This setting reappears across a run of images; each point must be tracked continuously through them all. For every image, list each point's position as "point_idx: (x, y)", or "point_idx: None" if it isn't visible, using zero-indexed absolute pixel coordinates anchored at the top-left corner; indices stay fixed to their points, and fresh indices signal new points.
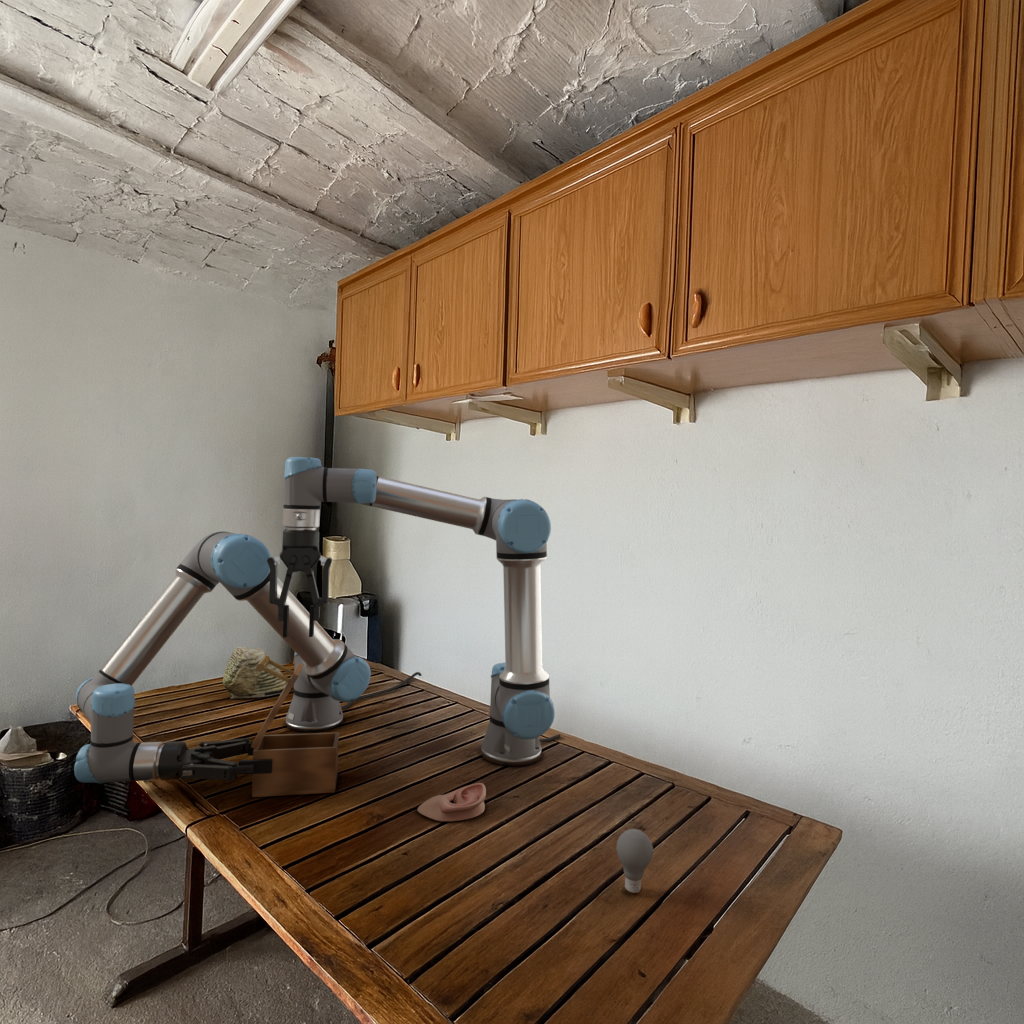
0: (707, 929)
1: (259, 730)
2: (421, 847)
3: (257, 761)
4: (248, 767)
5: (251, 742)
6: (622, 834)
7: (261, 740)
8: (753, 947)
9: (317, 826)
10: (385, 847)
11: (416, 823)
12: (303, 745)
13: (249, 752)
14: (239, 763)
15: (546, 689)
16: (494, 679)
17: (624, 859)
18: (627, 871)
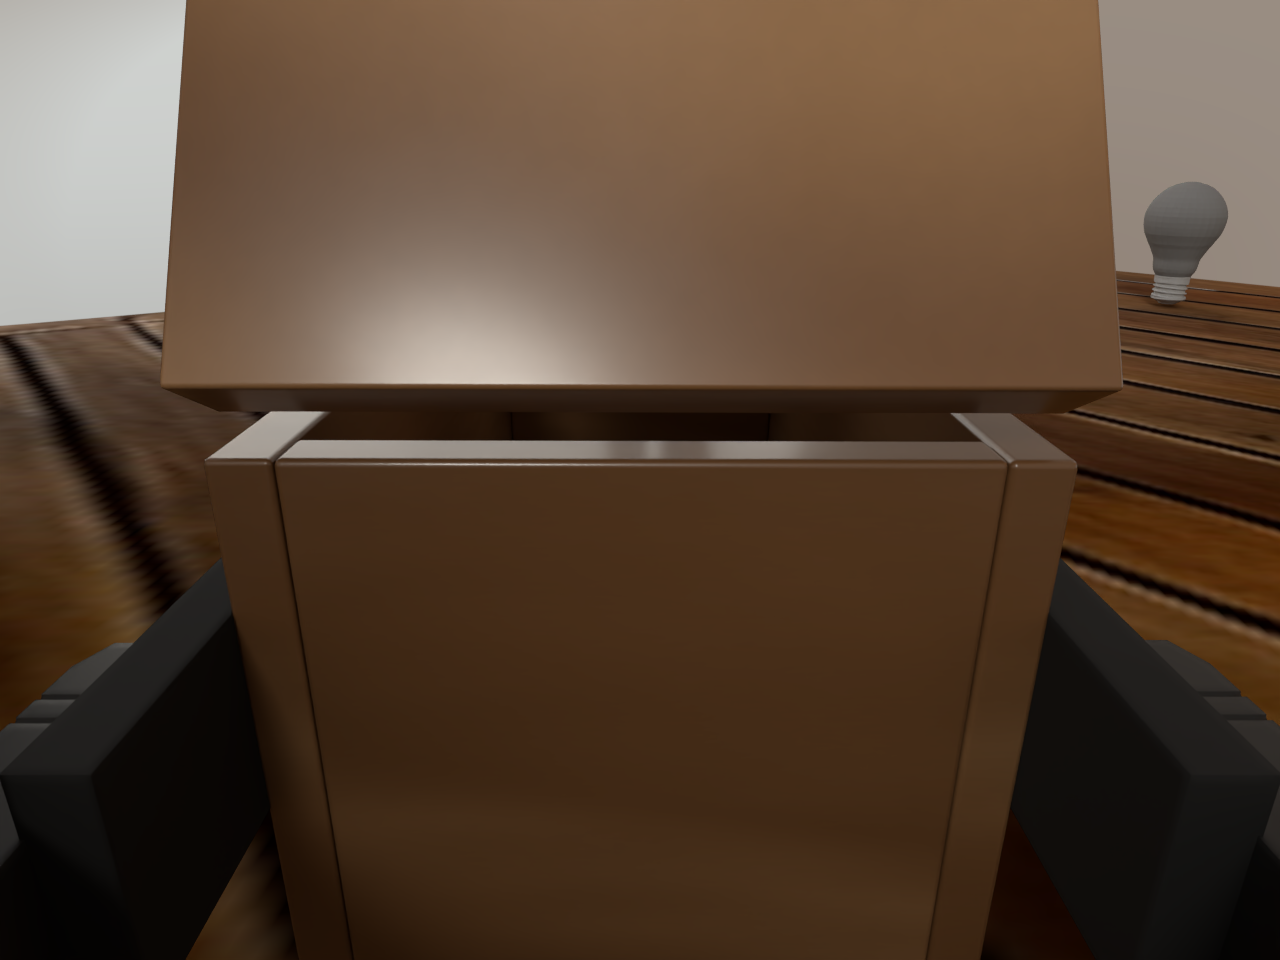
0: (1228, 292)
1: (383, 282)
2: (1191, 419)
3: (1069, 580)
4: (1237, 699)
5: (66, 730)
6: (1192, 194)
7: (518, 442)
8: (1244, 285)
9: (1243, 606)
10: (1260, 462)
11: (1022, 421)
12: (460, 421)
13: (153, 929)
14: (1253, 800)
15: None
16: None
17: (1219, 230)
18: (1197, 260)
